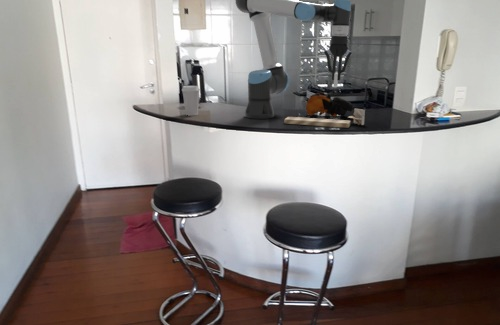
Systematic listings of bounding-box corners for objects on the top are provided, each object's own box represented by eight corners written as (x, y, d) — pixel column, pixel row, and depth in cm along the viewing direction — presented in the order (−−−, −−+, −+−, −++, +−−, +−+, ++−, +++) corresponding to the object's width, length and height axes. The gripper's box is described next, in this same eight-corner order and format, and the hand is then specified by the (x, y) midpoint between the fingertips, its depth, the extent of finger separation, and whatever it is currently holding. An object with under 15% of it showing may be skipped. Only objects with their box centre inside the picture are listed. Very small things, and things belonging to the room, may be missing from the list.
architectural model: (360, 126, 179) (361, 110, 176) (347, 124, 183) (348, 108, 181) (364, 125, 181) (365, 109, 179) (351, 123, 186) (352, 108, 183)
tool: (341, 131, 199) (354, 105, 193) (301, 113, 202) (313, 86, 196) (342, 128, 206) (355, 102, 200) (303, 110, 209) (315, 84, 204)
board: (284, 123, 184) (284, 119, 183) (288, 120, 190) (288, 116, 189) (348, 127, 174) (348, 123, 173) (350, 124, 180) (350, 120, 179)
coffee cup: (189, 116, 200) (187, 87, 196) (179, 114, 207) (177, 86, 203) (204, 114, 206) (203, 86, 202) (194, 112, 213) (193, 85, 209)
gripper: (324, 35, 177) (320, 87, 184) (353, 35, 172) (348, 89, 180) (327, 35, 183) (323, 85, 191) (355, 35, 179) (350, 87, 186)
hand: (335, 87), depth 185 cm, fingers closed
